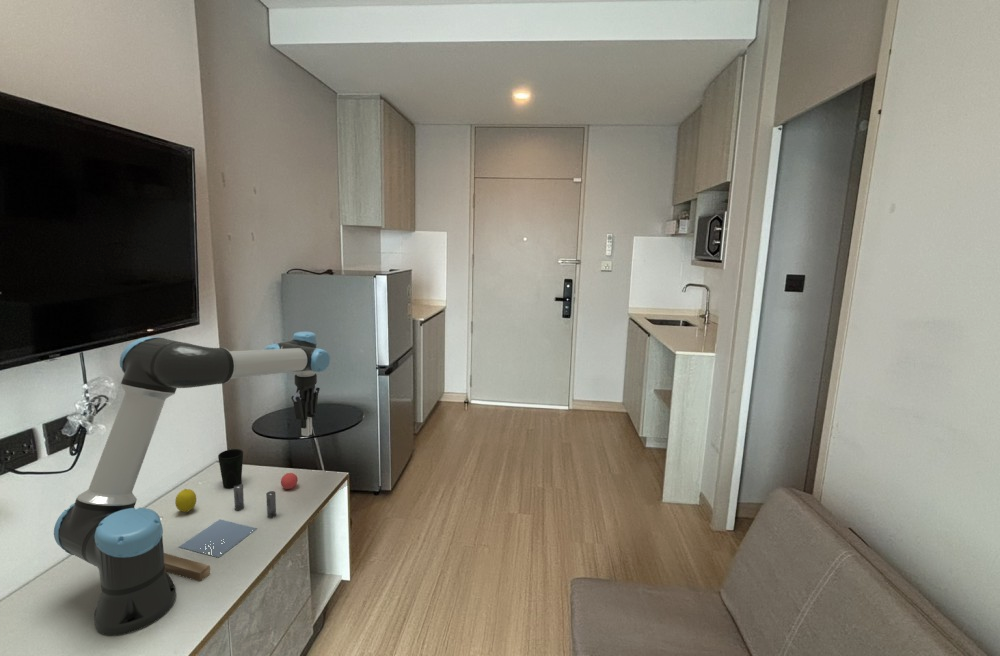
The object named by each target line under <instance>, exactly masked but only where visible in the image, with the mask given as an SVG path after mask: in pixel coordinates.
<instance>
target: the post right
mask: <svg viewBox="0 0 1000 656" xmlns="http://www.w3.org/2000/svg"><path fill="white" fill-rule="evenodd" d="M276 496H277V495H276V491H275V490H270V491H268V492H266V518H268V519H273V517H274V518H275V517H276V516H277V504H276V503H277V500H276V499H277V498H276Z"/></svg>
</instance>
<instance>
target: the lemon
mask: <svg viewBox="0 0 1000 656" xmlns="http://www.w3.org/2000/svg"><path fill="white" fill-rule="evenodd" d="M174 503H175V507H176V508H177V510H178V511H180V512H184V513H188V512H189V511H191V510H192V509H194V507H195V506H196V504H197V494H196V492H195V491H194V490H193V489H190V488H184V489H183V490H181V491H179V492H178V494H177V495H176V498H175V502H174Z"/></svg>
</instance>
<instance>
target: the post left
mask: <svg viewBox="0 0 1000 656" xmlns="http://www.w3.org/2000/svg"><path fill="white" fill-rule="evenodd" d="M233 497H234V501H233V502H234V510H235V512H236V511H242V510H244V508H245V502H244V501H245V499H244V498H245V497H244V484H243V483H241V484H237V485H235V486H234V488H233Z"/></svg>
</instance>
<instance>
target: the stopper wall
mask: <svg viewBox="0 0 1000 656" xmlns="http://www.w3.org/2000/svg"><path fill="white" fill-rule="evenodd" d="M164 563H165V570H166V572H167V573H168V572H169V573H168V574H172V573H173V574H172V575H176V576H179V575H180V577H183V576H184V578H186V577H187V578H186V579H190V578H191V579H190V580H193V579H194V581H197V582H200V581H201V582H202V581H203V580H204V579H206V578H207V577H208V576H209V575H211V565H210V564H206V563H202V562H198V561H195V560H192V559H187V558H185V557H181V556H180V557H179V556H176V555H173V554H170V553H165V552H164Z"/></svg>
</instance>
